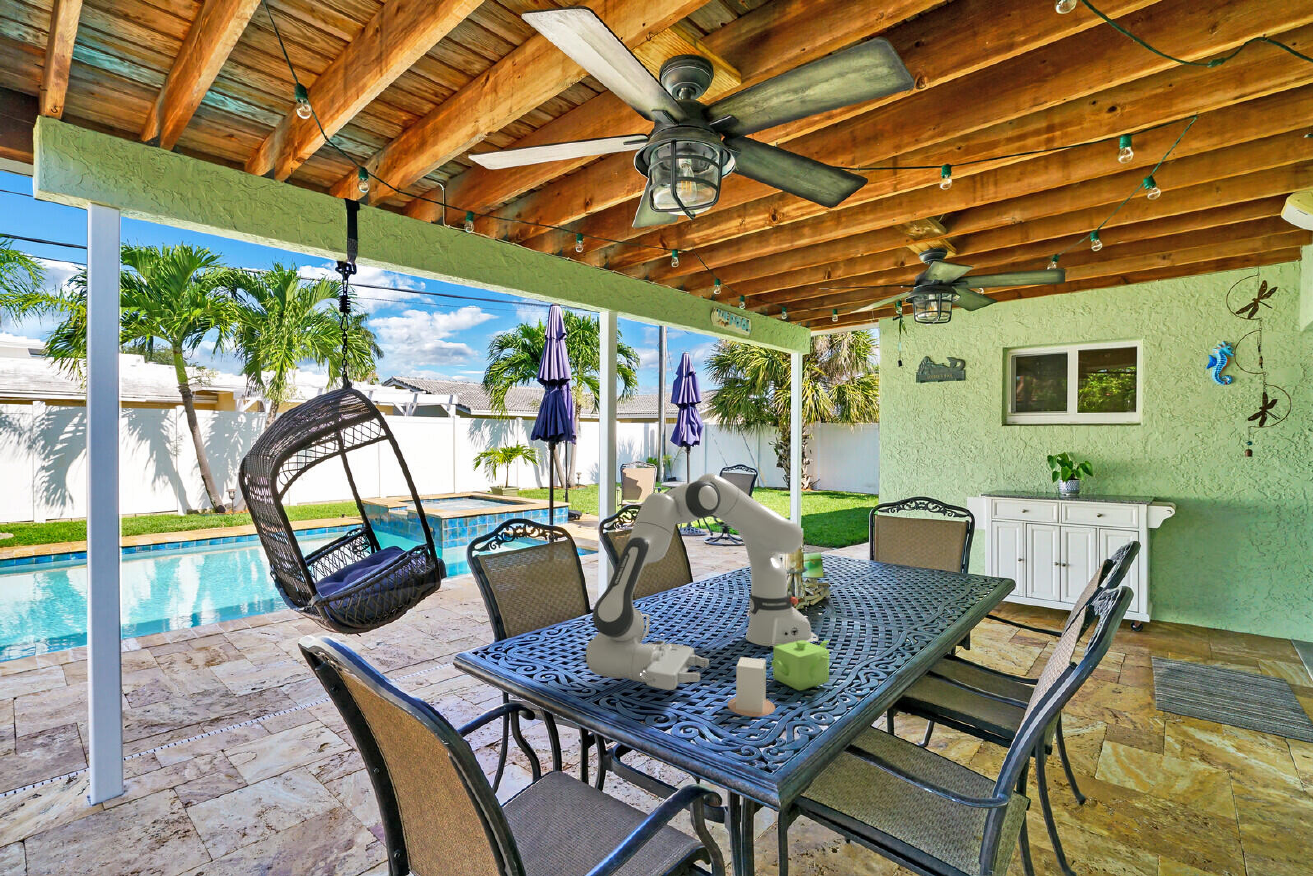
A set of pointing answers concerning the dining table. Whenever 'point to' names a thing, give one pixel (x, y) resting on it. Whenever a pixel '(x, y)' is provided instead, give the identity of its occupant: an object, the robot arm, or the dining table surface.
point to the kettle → (801, 664)
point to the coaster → (767, 710)
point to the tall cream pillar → (751, 684)
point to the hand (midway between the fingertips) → (704, 670)
